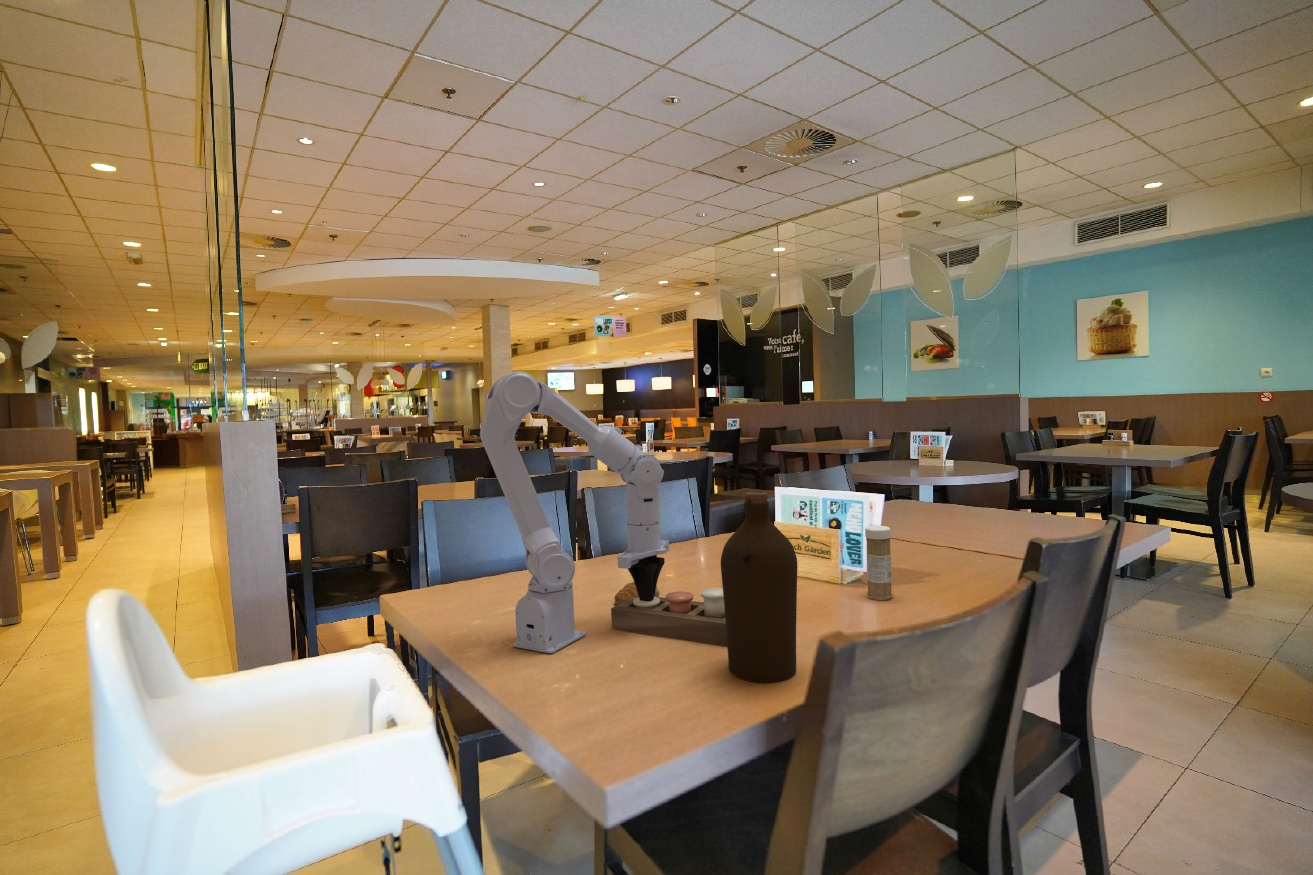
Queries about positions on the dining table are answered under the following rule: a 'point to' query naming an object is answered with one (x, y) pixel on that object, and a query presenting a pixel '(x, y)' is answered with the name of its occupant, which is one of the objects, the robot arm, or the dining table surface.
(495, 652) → the dining table surface
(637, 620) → the plug block
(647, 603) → the cream plug
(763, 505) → the olive oil
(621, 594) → the pastry
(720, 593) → the cream plug
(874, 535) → the sprinkles bottle
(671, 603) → the red plug
